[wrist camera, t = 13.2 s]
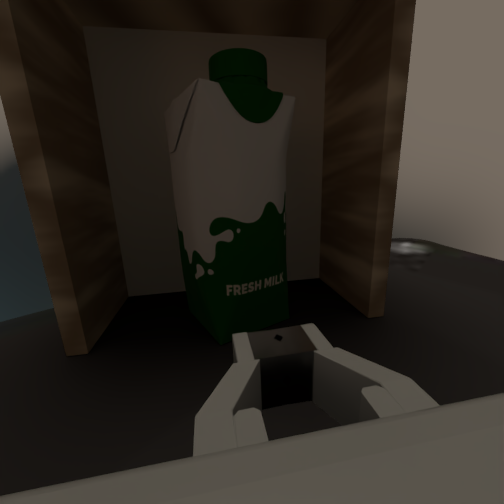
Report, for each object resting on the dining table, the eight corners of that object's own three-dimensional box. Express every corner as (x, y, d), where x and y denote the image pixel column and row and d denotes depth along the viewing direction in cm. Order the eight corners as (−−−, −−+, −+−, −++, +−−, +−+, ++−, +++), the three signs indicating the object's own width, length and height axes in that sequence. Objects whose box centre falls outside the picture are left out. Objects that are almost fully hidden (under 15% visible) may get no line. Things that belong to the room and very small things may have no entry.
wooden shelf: (6, 428, 13) (-310, -474, 6) (118, 292, 31) (67, 8, 24) (441, 358, 17) (545, -243, 10) (324, 273, 35) (334, 25, 28)
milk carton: (214, 356, 18) (187, 25, 13) (176, 309, 26) (149, 84, 21) (304, 319, 23) (309, 61, 18) (250, 288, 30) (242, 99, 25)
